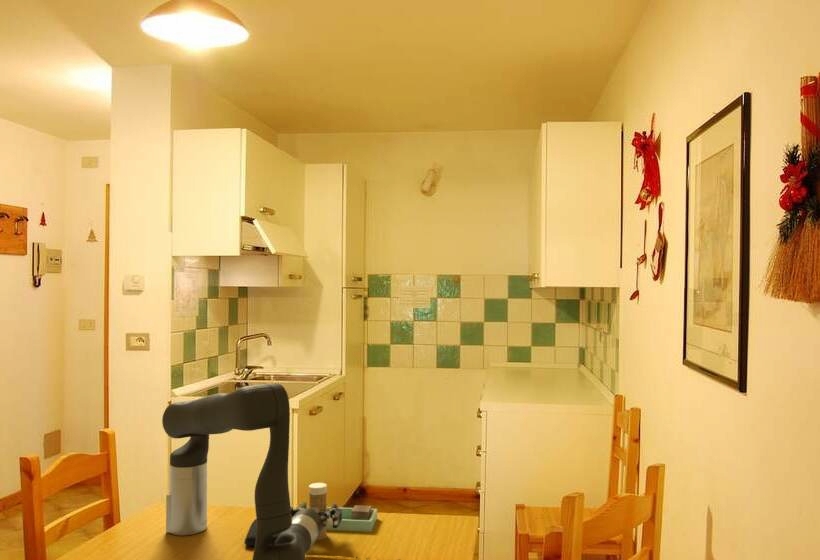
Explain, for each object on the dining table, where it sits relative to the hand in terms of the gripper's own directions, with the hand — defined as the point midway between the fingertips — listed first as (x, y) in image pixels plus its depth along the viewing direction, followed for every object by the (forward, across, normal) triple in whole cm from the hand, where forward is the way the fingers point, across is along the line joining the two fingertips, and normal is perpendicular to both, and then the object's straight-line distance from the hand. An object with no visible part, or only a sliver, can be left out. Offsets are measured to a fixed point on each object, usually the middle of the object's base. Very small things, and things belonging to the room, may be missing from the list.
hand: (320, 506), depth 160 cm
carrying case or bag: (-2, +12, +8) cm, 15 cm away
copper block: (+7, -9, +7) cm, 14 cm away
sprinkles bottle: (-2, 0, +7) cm, 8 cm away
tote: (+7, -6, +7) cm, 11 cm away
